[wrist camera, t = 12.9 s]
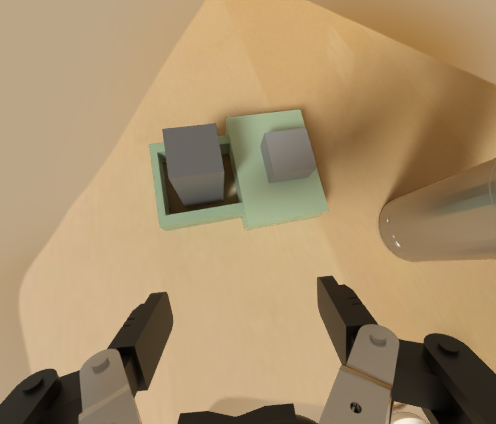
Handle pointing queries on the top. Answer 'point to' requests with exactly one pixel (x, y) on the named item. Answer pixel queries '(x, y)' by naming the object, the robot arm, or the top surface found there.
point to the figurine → (406, 418)
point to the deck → (256, 174)
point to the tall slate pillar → (195, 163)
